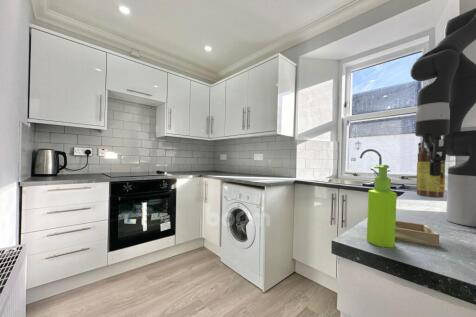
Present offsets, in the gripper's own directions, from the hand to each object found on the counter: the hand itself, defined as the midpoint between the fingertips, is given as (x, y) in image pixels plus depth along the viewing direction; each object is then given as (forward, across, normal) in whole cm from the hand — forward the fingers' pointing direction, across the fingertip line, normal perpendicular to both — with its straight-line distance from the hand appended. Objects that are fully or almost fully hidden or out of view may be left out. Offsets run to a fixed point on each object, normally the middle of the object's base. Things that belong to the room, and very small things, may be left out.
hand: (430, 174), depth 62 cm
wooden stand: (+17, -9, +7) cm, 21 cm away
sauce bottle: (+7, 0, 0) cm, 7 cm away
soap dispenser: (+17, -19, +15) cm, 30 cm away
